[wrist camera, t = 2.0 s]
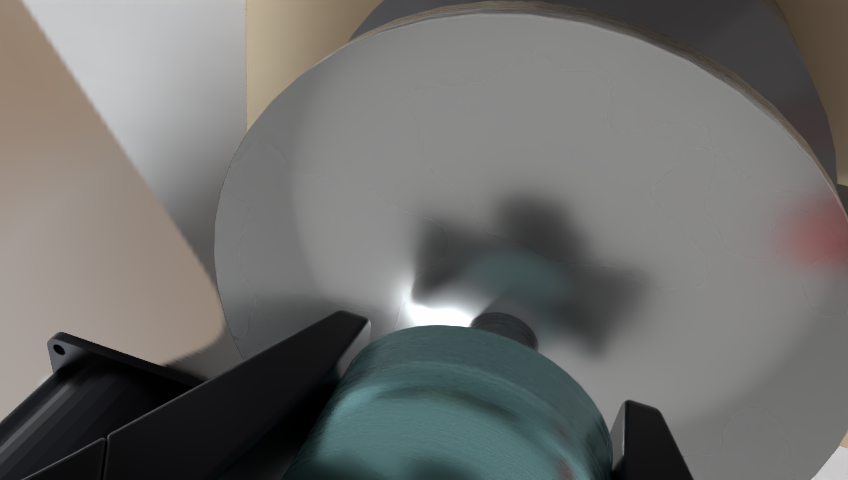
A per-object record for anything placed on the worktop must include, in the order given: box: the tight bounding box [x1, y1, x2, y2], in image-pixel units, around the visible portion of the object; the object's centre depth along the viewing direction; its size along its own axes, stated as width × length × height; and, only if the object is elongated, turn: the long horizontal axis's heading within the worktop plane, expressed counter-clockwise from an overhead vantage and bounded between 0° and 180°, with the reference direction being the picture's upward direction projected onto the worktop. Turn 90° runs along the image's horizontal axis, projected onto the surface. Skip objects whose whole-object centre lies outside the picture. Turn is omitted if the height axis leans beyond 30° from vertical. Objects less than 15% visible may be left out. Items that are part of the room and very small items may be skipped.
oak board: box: [246, 0, 848, 448], centre depth 16 cm, size 18×13×1 cm
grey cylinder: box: [348, 0, 848, 217], centre depth 14 cm, size 12×9×4 cm
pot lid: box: [214, 1, 848, 480], centre depth 8 cm, size 9×9×4 cm
